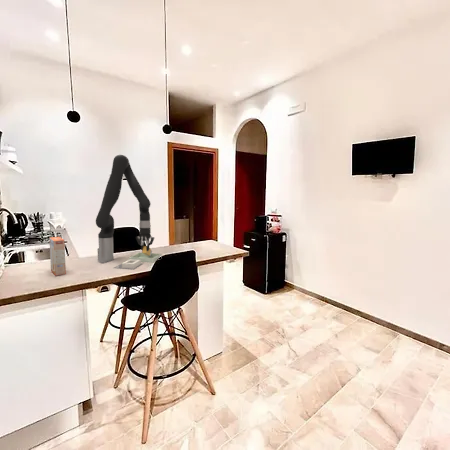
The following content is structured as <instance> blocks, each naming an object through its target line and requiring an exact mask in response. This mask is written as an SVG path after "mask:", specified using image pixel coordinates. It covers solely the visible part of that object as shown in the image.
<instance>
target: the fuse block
mask: <svg viewBox="0 0 450 450" xmlns="http://www.w3.org/2000/svg"><path fill="white" fill-rule="evenodd" d="M142 265H143V263H142V262H141V260H133V259H129V258H128V259H127V260H126V261H123V262H122V263H120V264H119V265H116V266H114V267H113V269H118V270H119V269H120V270H121V269H122V270H132V271H133V270H136V269H137V268H139V267H141V266H142Z"/></svg>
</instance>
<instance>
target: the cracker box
mask: <svg viewBox="0 0 450 450" xmlns="http://www.w3.org/2000/svg"><path fill="white" fill-rule="evenodd" d="M48 240H49V241H48V242H49V257H50V258H49V259H50V271H51V273H53V275H54V276H55V277H56V276H65V275H67V272H66V271H67V270H66V267H67V266H66V248H65V247H66V243H65V239H63V238H62V237H61V236H52V237H51V236H49V239H48Z"/></svg>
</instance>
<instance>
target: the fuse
mask: <svg viewBox="0 0 450 450" xmlns="http://www.w3.org/2000/svg"><path fill="white" fill-rule="evenodd" d="M146 246H147V245H144V246H143V251H142V250H141V251H142V252H141V253H143V254H145V255H147V256H151V254H152V253H153V250H152V249H151V248H150V247H149V251H147V250H146Z"/></svg>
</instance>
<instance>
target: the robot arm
mask: <svg viewBox="0 0 450 450" xmlns="http://www.w3.org/2000/svg"><path fill="white" fill-rule="evenodd" d="M112 160H113V161H112V167H111V172H110V175H109V178H108V181H107V184H106V187H105V191H104V193H103V194H104V195H103V198H102V201H101V205H100V208H99V211H98V212H97V213H98V214H97V215H96V218H95V225H96V226H97V228H99V229H100V231H99V232H98V234H97V235H98V236H97V237H98V248H97V250H96V251H97V262H98V263H102V264H105V263H106V264H107V263H109V262H111V261H112V262H113V261H114V260H115V259H114V232H115V219H114V217H113V215H111V212H112V209H113V208H114V206H115V205H116V203H117V202H118V200H119V197H120V194H121V190H122V183H123V177H124V178H125V179H126V182H127V184H128V187H129V189H130V191H131V192H132V194H133V196H134V197H135V198H136V200H137V202H138V208H139V209H138V210H139V224H138V225H139V235H138V236H135V240H136V242H137V244H138V245H140V250H141V251H143V246H146V250H147V251H149V248H150V246H151V245H153V243H154V240H155V237H153V235H151V233H152V232H151V229H152V228H151V214H150V207H151V201H150V199H149V198H148V197H149V196H147V195H146V193H145V191H144V190H143V188H142V186H141V183H140V182H139V180H138V179H137V177H136V175H135V174H134V172H133V169H132V166H131V164H130V160H129V158H128V157H127V156H126V155H123V154H118V155H116V156H114V158H113V159H112ZM145 243H146V245H145Z"/></svg>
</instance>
